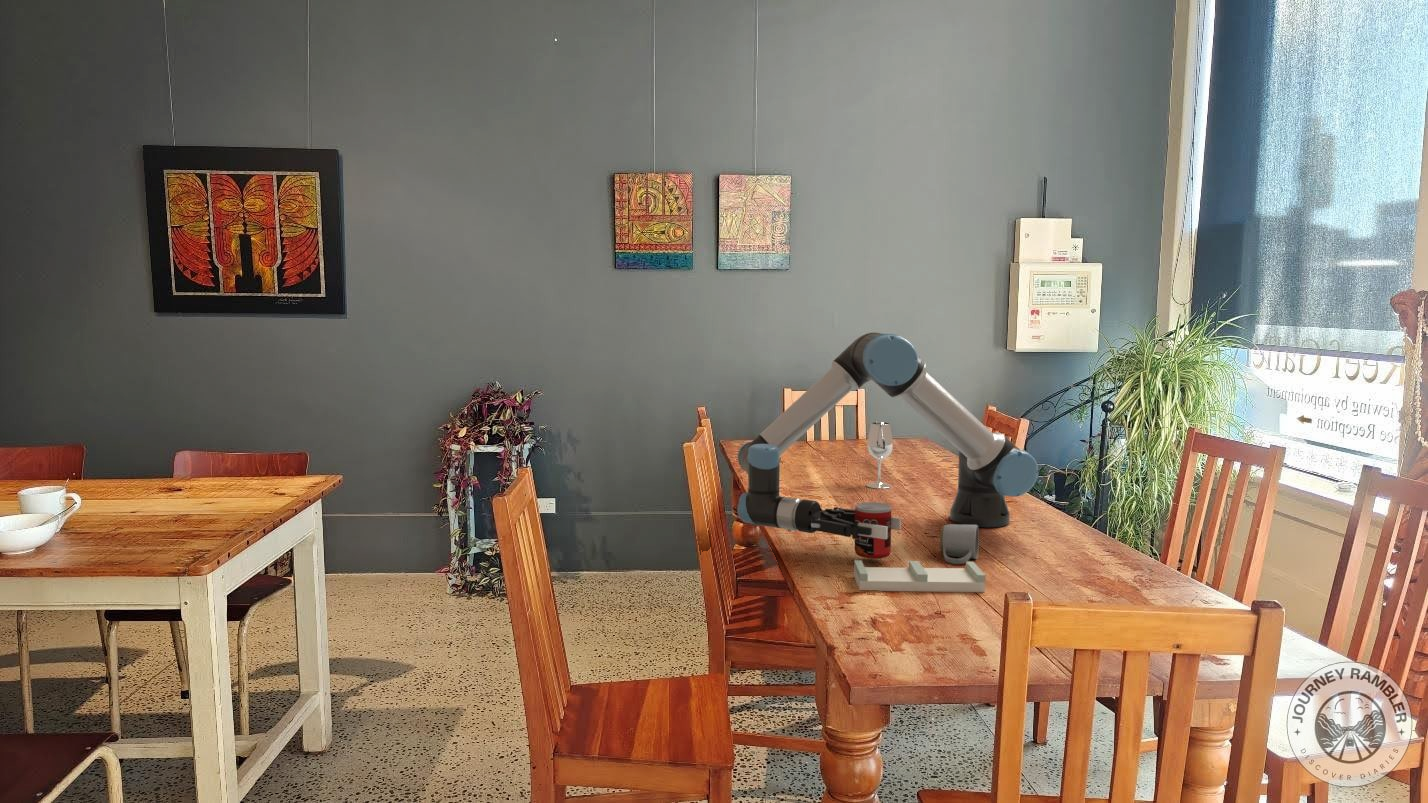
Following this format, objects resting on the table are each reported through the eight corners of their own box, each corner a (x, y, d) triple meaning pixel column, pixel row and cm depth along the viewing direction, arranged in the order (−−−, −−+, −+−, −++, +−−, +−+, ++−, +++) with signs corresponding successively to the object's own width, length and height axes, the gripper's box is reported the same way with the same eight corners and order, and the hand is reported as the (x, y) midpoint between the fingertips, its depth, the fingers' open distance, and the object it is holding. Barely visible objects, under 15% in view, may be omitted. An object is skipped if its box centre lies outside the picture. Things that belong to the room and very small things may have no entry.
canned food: (848, 551, 194) (848, 503, 193) (878, 547, 197) (879, 500, 196) (865, 560, 187) (866, 511, 186) (897, 556, 190) (898, 508, 189)
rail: (972, 577, 181) (973, 561, 181) (984, 592, 172) (985, 575, 172) (853, 576, 182) (854, 560, 182) (859, 590, 173) (860, 573, 173)
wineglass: (877, 482, 275) (878, 420, 272) (896, 486, 269) (898, 423, 266) (861, 485, 270) (862, 423, 267) (880, 490, 264) (882, 425, 261)
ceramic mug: (942, 549, 201) (943, 518, 200) (978, 553, 198) (980, 521, 197) (936, 563, 192) (937, 530, 191) (974, 567, 189) (975, 534, 188)
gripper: (818, 520, 210) (909, 533, 198) (779, 541, 192) (876, 557, 181) (819, 490, 209) (909, 502, 197) (780, 508, 192) (877, 522, 180)
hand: (893, 528), depth 189 cm, fingers closed on canned food, 8 cm apart
